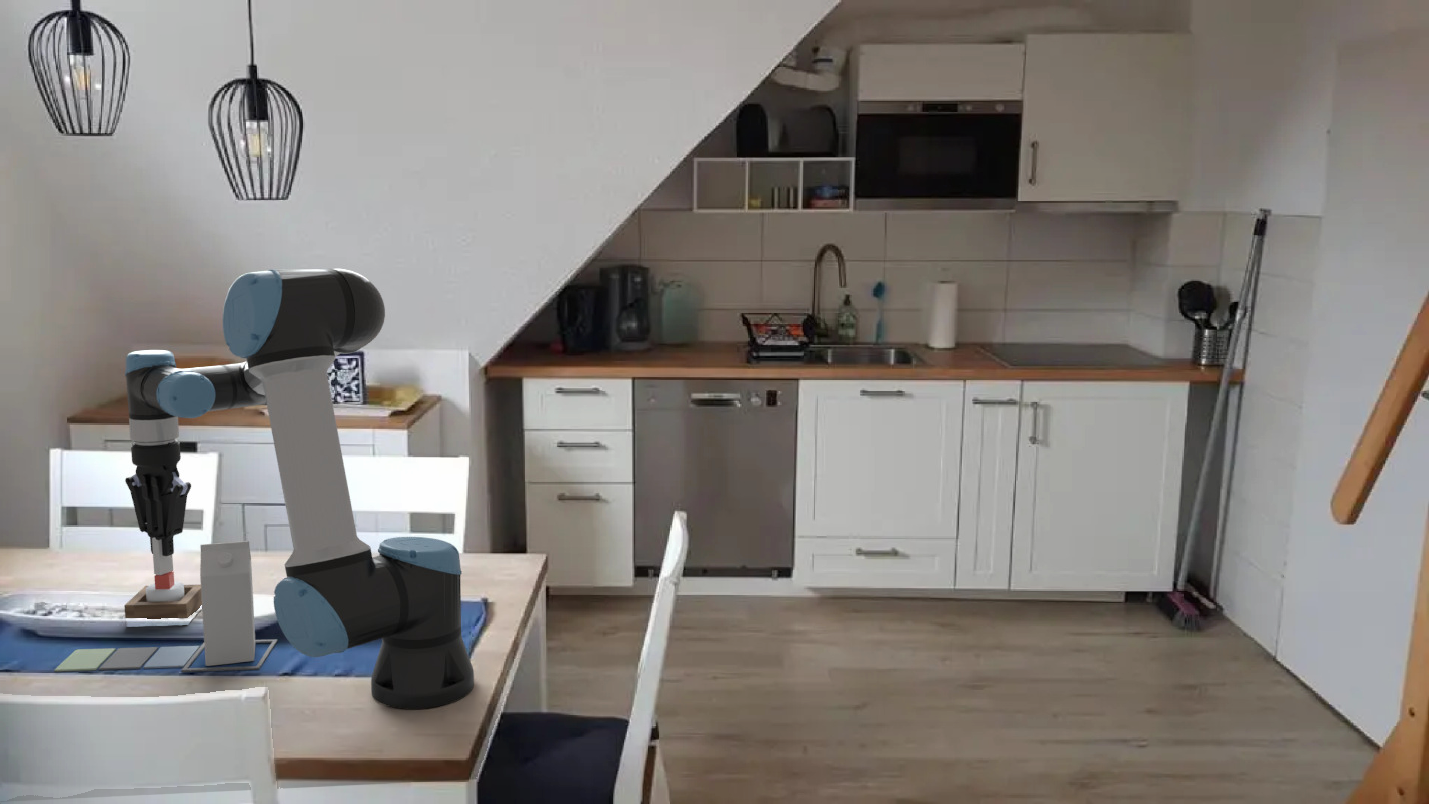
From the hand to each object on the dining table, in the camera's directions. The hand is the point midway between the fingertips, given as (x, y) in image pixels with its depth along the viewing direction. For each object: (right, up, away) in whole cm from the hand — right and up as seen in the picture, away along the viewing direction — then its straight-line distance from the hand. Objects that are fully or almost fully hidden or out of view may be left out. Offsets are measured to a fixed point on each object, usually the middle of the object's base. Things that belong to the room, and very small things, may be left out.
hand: (163, 572), depth 195 cm
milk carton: (+18, -11, -15) cm, 26 cm away
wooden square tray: (0, -8, +1) cm, 8 cm away
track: (+9, -11, -16) cm, 22 cm away
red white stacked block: (0, -7, +1) cm, 7 cm away
